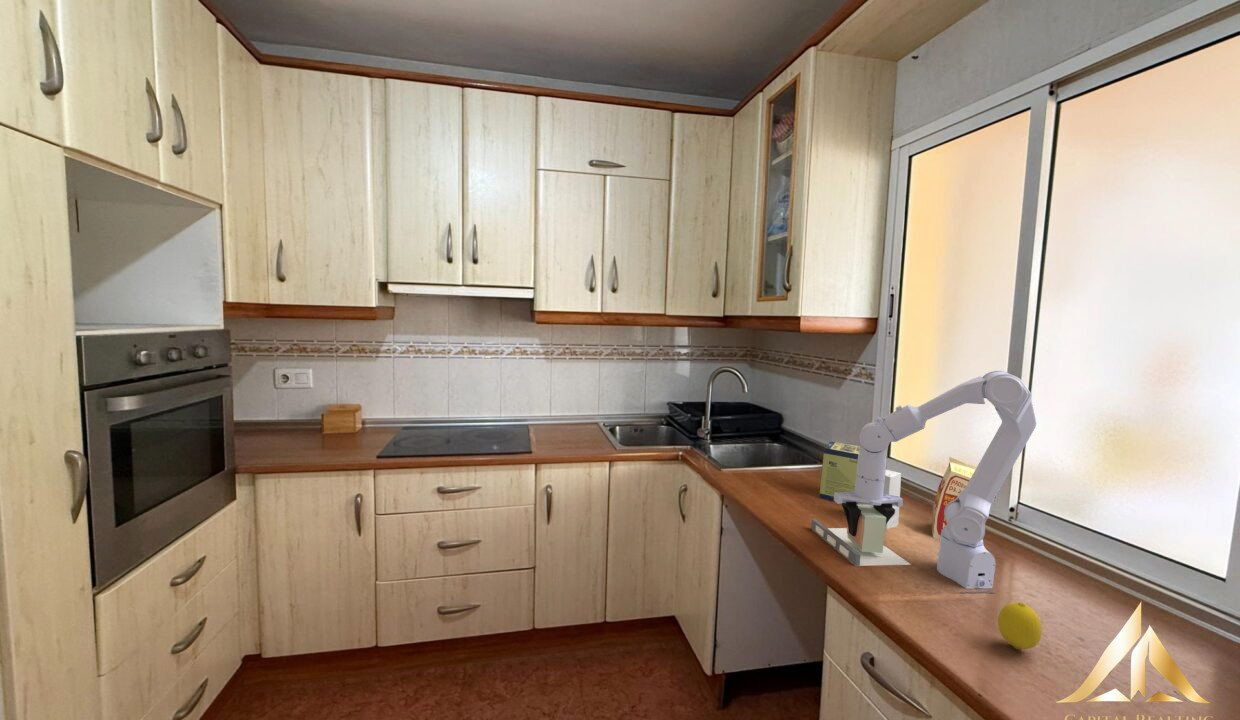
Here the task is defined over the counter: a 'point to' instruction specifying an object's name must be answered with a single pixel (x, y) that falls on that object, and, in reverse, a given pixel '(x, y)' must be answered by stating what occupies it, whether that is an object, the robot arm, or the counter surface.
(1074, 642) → the counter surface
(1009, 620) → the lemon
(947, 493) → the milk carton
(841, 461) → the protein box
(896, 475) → the skincare box
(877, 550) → the box
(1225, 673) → the counter surface
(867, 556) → the shelf board
